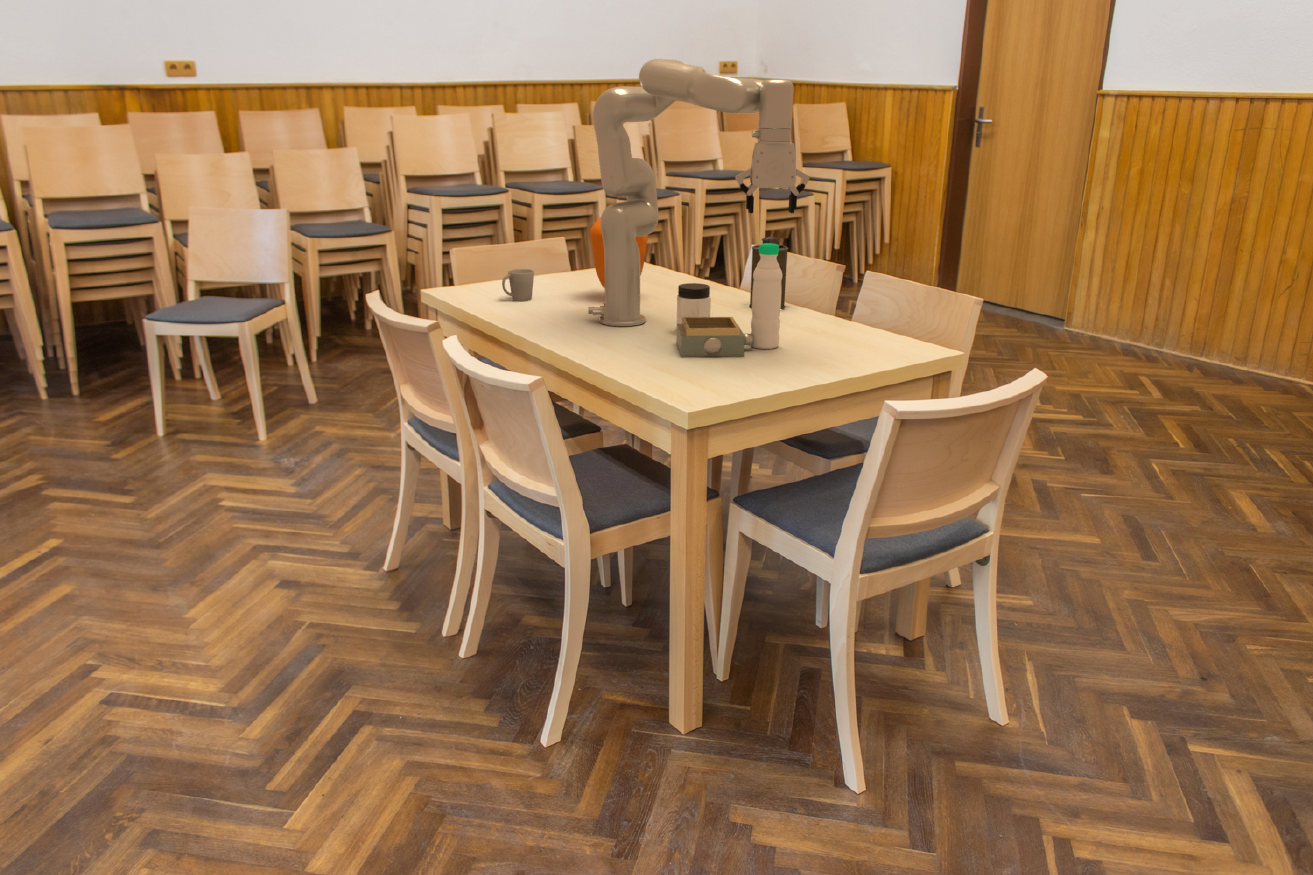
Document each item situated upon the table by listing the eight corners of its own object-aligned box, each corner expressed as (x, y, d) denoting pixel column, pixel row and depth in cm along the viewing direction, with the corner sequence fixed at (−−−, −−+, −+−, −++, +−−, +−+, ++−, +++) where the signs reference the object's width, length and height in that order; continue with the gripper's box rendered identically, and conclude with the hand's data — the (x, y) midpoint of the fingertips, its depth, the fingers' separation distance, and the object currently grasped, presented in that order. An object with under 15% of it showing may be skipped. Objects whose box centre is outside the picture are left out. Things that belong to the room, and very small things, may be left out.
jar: (672, 333, 251) (672, 287, 247) (680, 327, 258) (681, 282, 254) (705, 336, 248) (706, 290, 244) (713, 329, 256) (714, 284, 252)
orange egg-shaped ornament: (658, 300, 290) (659, 215, 282) (609, 307, 281) (609, 219, 273) (627, 291, 304) (627, 209, 295) (580, 297, 295) (578, 213, 286)
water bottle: (777, 350, 235) (782, 246, 227) (748, 348, 237) (752, 245, 228) (779, 343, 242) (785, 242, 233) (751, 342, 243) (755, 241, 235)
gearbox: (681, 357, 228) (681, 329, 226) (676, 343, 241) (676, 317, 239) (757, 356, 230) (758, 329, 227) (748, 342, 242) (749, 316, 240)
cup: (539, 300, 289) (538, 271, 286) (509, 304, 284) (508, 275, 281) (527, 296, 295) (526, 268, 292) (497, 299, 290) (496, 271, 287)
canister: (768, 312, 276) (771, 241, 269) (741, 306, 283) (744, 237, 277) (793, 307, 283) (797, 238, 276) (767, 301, 290) (770, 234, 283)
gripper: (739, 137, 219) (736, 214, 224) (815, 137, 220) (810, 214, 226) (734, 136, 226) (732, 211, 231) (807, 136, 227) (803, 210, 233)
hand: (770, 212), depth 229 cm, fingers open, 9 cm apart
